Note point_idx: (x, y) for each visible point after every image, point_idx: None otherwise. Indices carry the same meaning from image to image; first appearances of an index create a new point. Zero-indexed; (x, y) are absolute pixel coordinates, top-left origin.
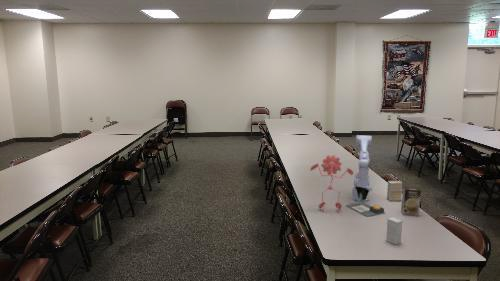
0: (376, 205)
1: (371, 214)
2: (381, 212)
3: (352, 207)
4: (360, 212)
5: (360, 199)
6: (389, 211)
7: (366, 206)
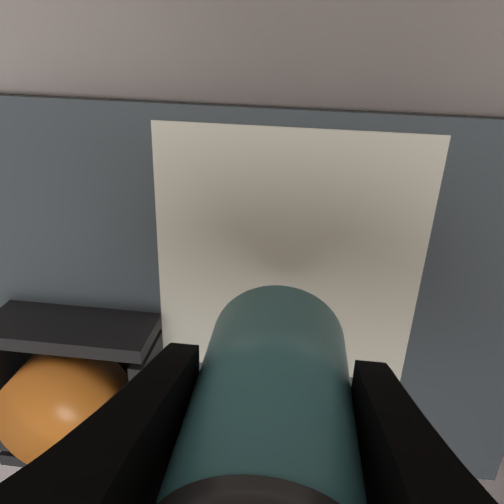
0: None
1: (2, 217)
2: None
3: (418, 149)
4: (137, 106)
5: (255, 322)
6: None
7: None
